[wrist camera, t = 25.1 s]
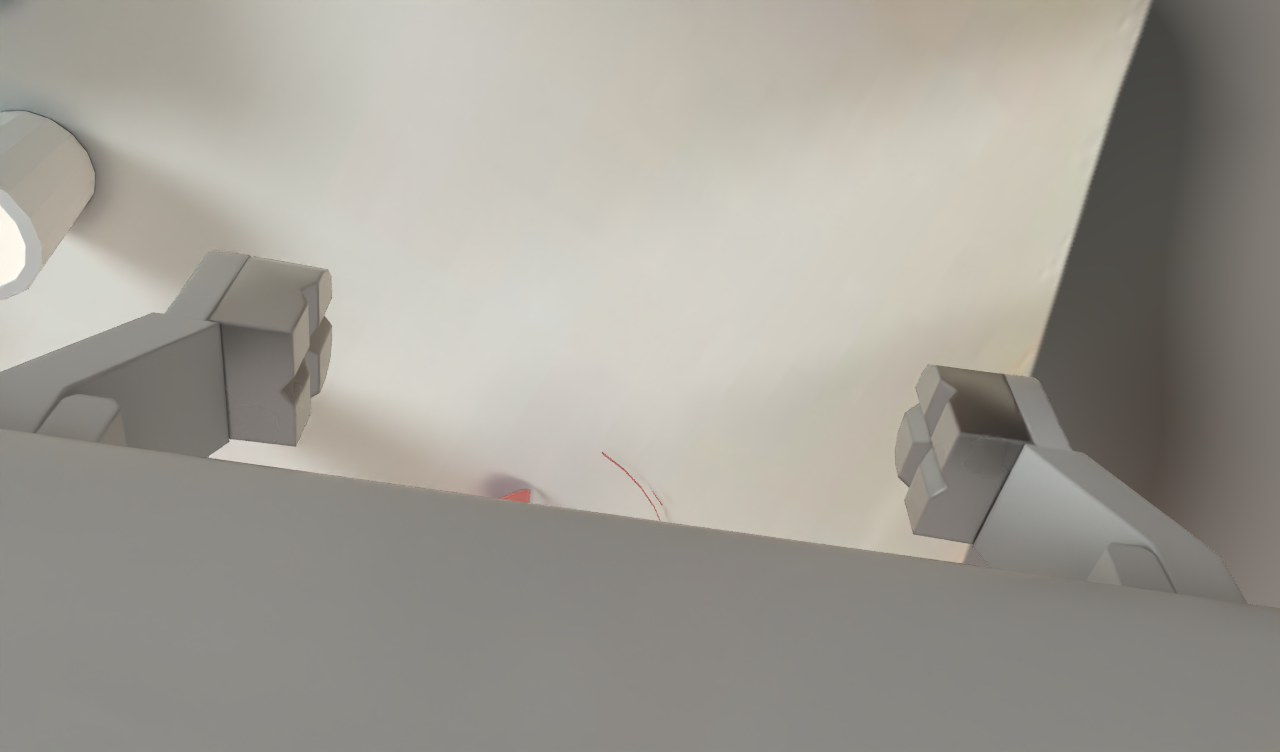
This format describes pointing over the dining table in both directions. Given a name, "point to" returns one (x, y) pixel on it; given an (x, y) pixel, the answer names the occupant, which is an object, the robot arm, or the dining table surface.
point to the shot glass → (37, 194)
